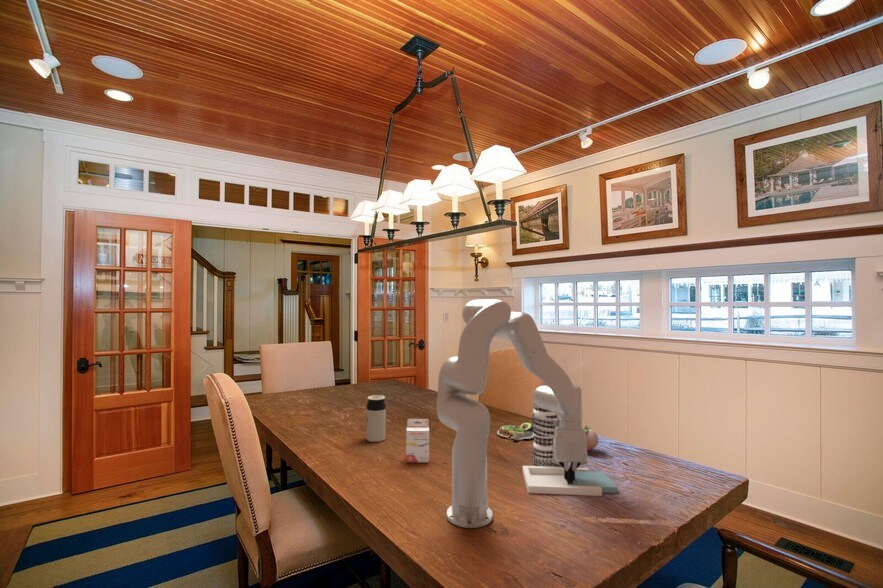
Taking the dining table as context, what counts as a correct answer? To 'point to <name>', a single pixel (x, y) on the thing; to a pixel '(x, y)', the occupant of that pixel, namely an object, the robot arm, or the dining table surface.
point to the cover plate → (595, 480)
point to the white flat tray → (555, 482)
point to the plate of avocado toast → (519, 431)
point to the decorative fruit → (590, 438)
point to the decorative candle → (543, 436)
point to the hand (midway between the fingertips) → (569, 481)
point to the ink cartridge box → (417, 441)
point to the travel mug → (376, 418)
